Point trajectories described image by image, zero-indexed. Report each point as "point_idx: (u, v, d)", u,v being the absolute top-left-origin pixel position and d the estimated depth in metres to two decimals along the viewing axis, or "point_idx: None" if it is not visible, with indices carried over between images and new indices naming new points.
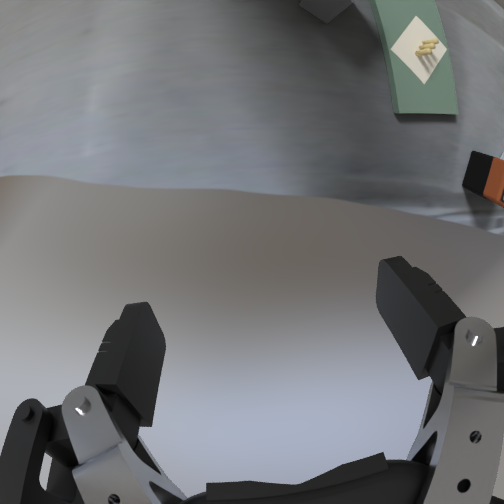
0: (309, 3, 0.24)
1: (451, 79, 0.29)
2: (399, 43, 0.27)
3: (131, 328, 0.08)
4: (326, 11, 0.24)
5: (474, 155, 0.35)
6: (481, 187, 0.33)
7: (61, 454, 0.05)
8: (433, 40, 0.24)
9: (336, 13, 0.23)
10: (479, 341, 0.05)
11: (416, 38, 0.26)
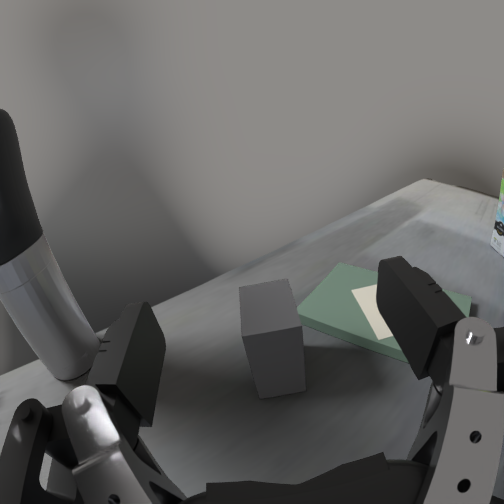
0: (267, 384, 0.24)
1: None
2: (376, 326, 0.29)
3: (131, 328, 0.08)
4: (291, 374, 0.24)
5: None
6: None
7: (61, 454, 0.05)
8: None
9: (301, 364, 0.23)
10: (479, 341, 0.05)
11: None
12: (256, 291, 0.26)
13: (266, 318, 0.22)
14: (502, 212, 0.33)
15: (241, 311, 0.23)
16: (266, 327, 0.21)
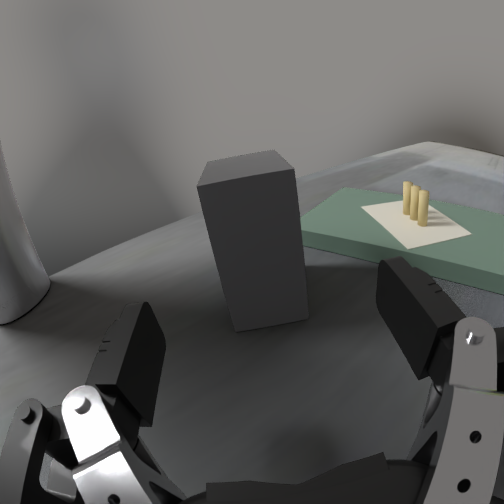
0: (245, 299, 0.16)
1: (461, 207, 0.23)
2: (400, 236, 0.21)
3: (131, 328, 0.08)
4: (282, 279, 0.15)
5: None
6: None
7: (61, 454, 0.05)
8: (406, 186, 0.22)
9: (299, 257, 0.15)
10: (479, 341, 0.05)
11: (397, 217, 0.23)
12: (229, 160, 0.17)
13: (238, 170, 0.14)
14: None
15: (204, 172, 0.15)
16: (236, 175, 0.13)
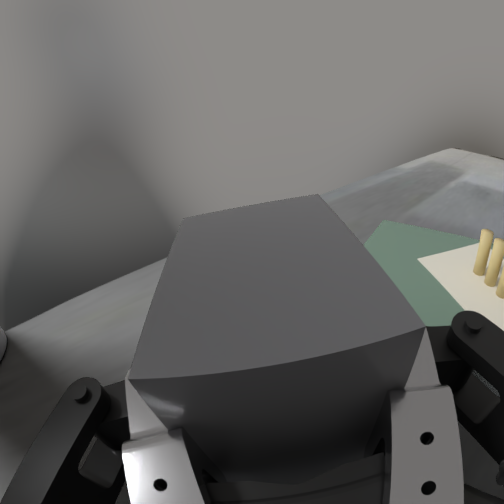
0: None
1: None
2: None
3: None
4: (330, 469, 0.06)
5: None
6: None
7: (110, 439, 0.05)
8: (486, 237, 0.13)
9: None
10: None
11: (468, 280, 0.14)
12: (227, 222, 0.08)
13: (252, 297, 0.05)
14: None
15: (164, 275, 0.06)
16: (249, 341, 0.04)
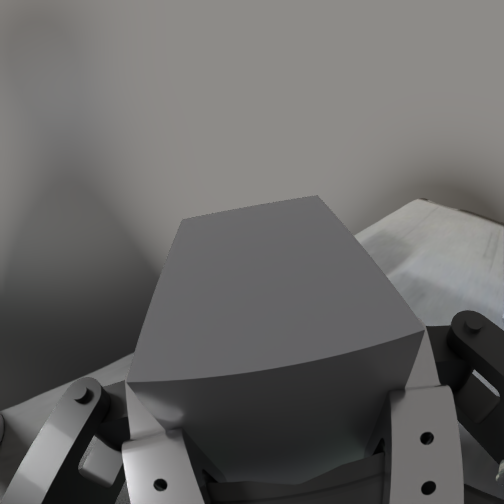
0: None
1: None
2: None
3: None
4: None
5: None
6: None
7: (110, 439, 0.05)
8: None
9: None
10: None
11: None
12: (226, 223, 0.08)
13: (251, 300, 0.05)
14: None
15: (163, 277, 0.06)
16: (247, 344, 0.04)
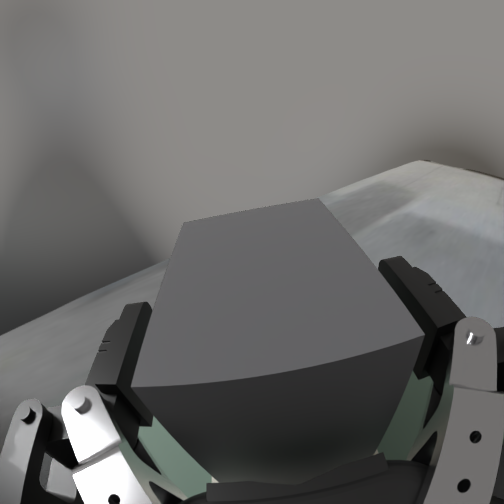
0: None
1: (421, 381, 0.11)
2: None
3: (131, 328, 0.08)
4: None
5: None
6: None
7: (61, 454, 0.05)
8: None
9: (368, 450, 0.06)
10: (479, 341, 0.05)
11: None
12: (228, 226, 0.08)
13: (253, 304, 0.05)
14: None
15: (165, 281, 0.06)
16: (250, 349, 0.04)
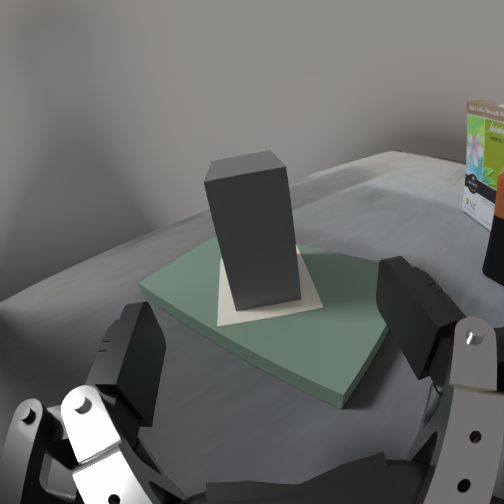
0: (244, 280, 0.18)
1: (346, 258, 0.23)
2: (225, 306, 0.20)
3: (131, 328, 0.08)
4: (277, 262, 0.18)
5: (489, 266, 0.18)
6: None
7: (61, 454, 0.05)
8: None
9: (291, 243, 0.17)
10: (479, 341, 0.05)
11: None
12: (231, 159, 0.20)
13: (239, 168, 0.17)
14: (473, 160, 0.25)
15: (209, 170, 0.18)
16: (237, 172, 0.16)
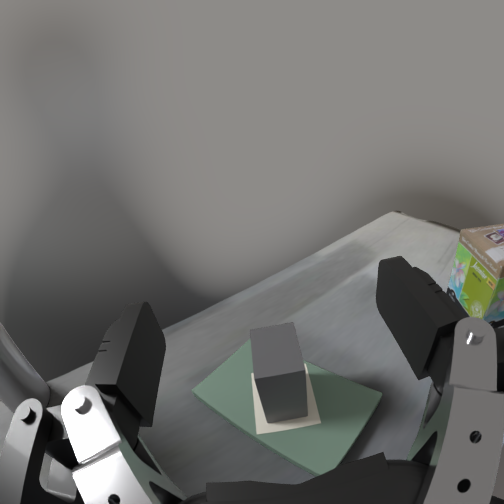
0: (274, 412, 0.26)
1: (339, 380, 0.31)
2: (260, 418, 0.28)
3: (131, 328, 0.08)
4: (295, 404, 0.26)
5: None
6: None
7: (61, 454, 0.05)
8: None
9: (304, 397, 0.25)
10: (479, 341, 0.05)
11: None
12: (265, 334, 0.28)
13: (274, 361, 0.25)
14: (455, 280, 0.33)
15: (252, 354, 0.26)
16: (274, 370, 0.24)
